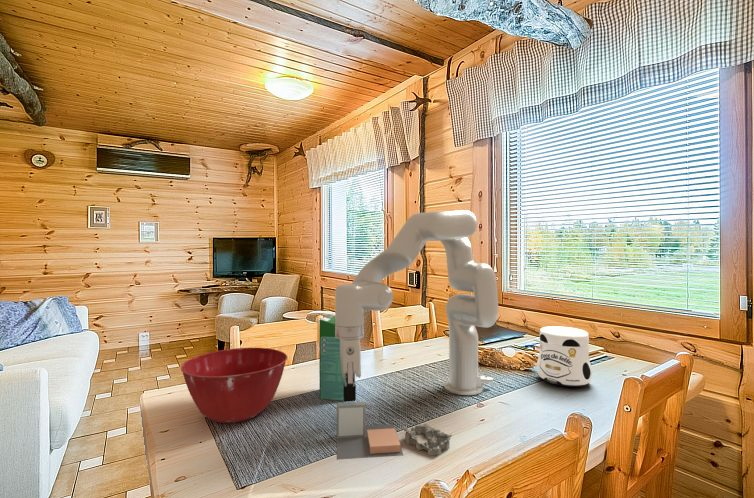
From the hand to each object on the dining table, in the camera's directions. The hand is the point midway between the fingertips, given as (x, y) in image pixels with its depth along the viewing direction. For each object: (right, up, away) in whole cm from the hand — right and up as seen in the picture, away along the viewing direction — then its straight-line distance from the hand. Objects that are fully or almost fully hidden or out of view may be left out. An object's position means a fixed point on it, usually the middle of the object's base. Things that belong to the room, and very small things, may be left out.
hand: (349, 399), depth 101 cm
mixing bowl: (-33, -7, +9) cm, 35 cm away
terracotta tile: (+8, -6, -6) cm, 12 cm away
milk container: (+73, -7, +33) cm, 80 cm away
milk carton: (-6, -7, +22) cm, 24 cm away
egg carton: (+19, -8, -10) cm, 23 cm away
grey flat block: (+1, -7, -6) cm, 9 cm away
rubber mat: (+5, -7, -8) cm, 12 cm away
